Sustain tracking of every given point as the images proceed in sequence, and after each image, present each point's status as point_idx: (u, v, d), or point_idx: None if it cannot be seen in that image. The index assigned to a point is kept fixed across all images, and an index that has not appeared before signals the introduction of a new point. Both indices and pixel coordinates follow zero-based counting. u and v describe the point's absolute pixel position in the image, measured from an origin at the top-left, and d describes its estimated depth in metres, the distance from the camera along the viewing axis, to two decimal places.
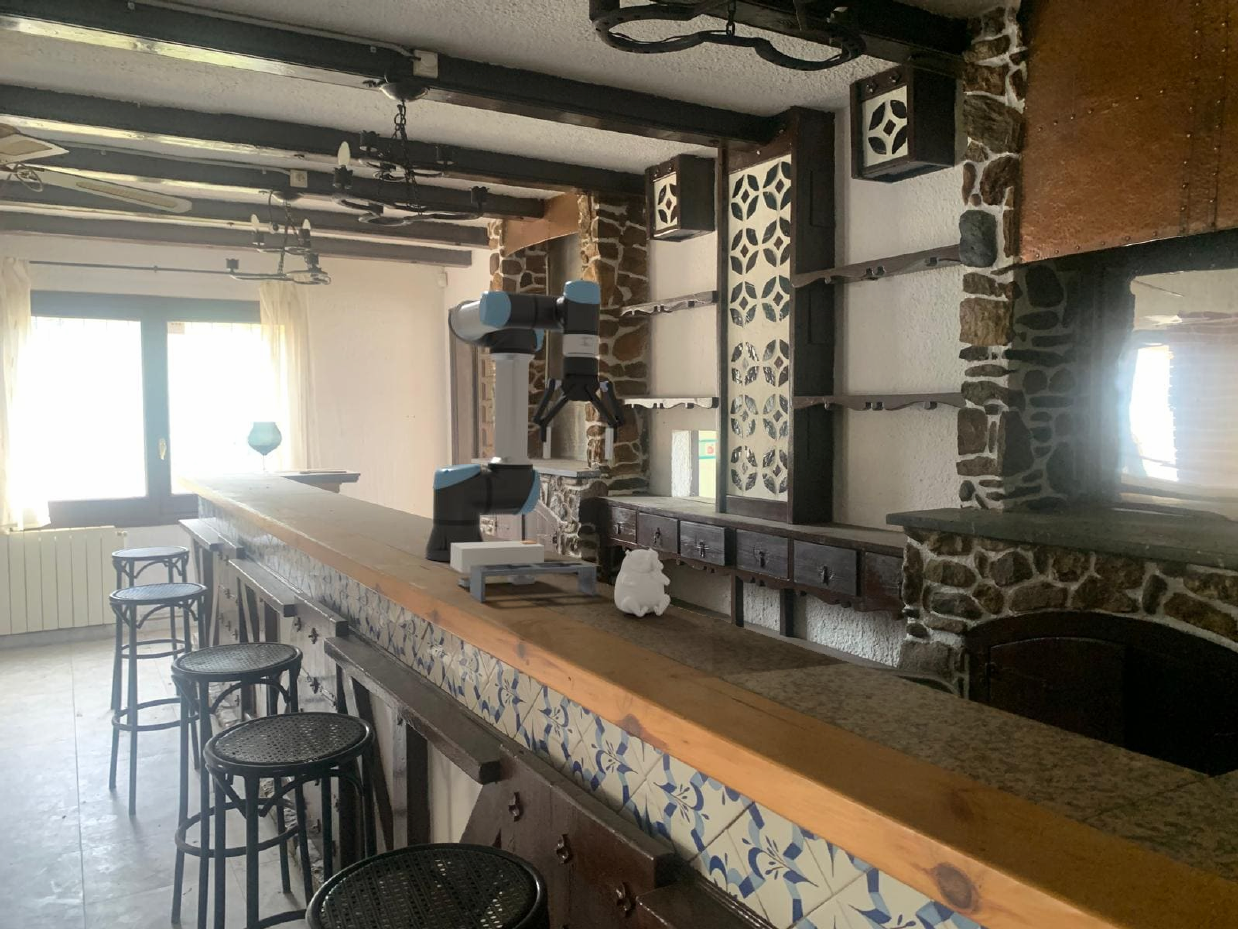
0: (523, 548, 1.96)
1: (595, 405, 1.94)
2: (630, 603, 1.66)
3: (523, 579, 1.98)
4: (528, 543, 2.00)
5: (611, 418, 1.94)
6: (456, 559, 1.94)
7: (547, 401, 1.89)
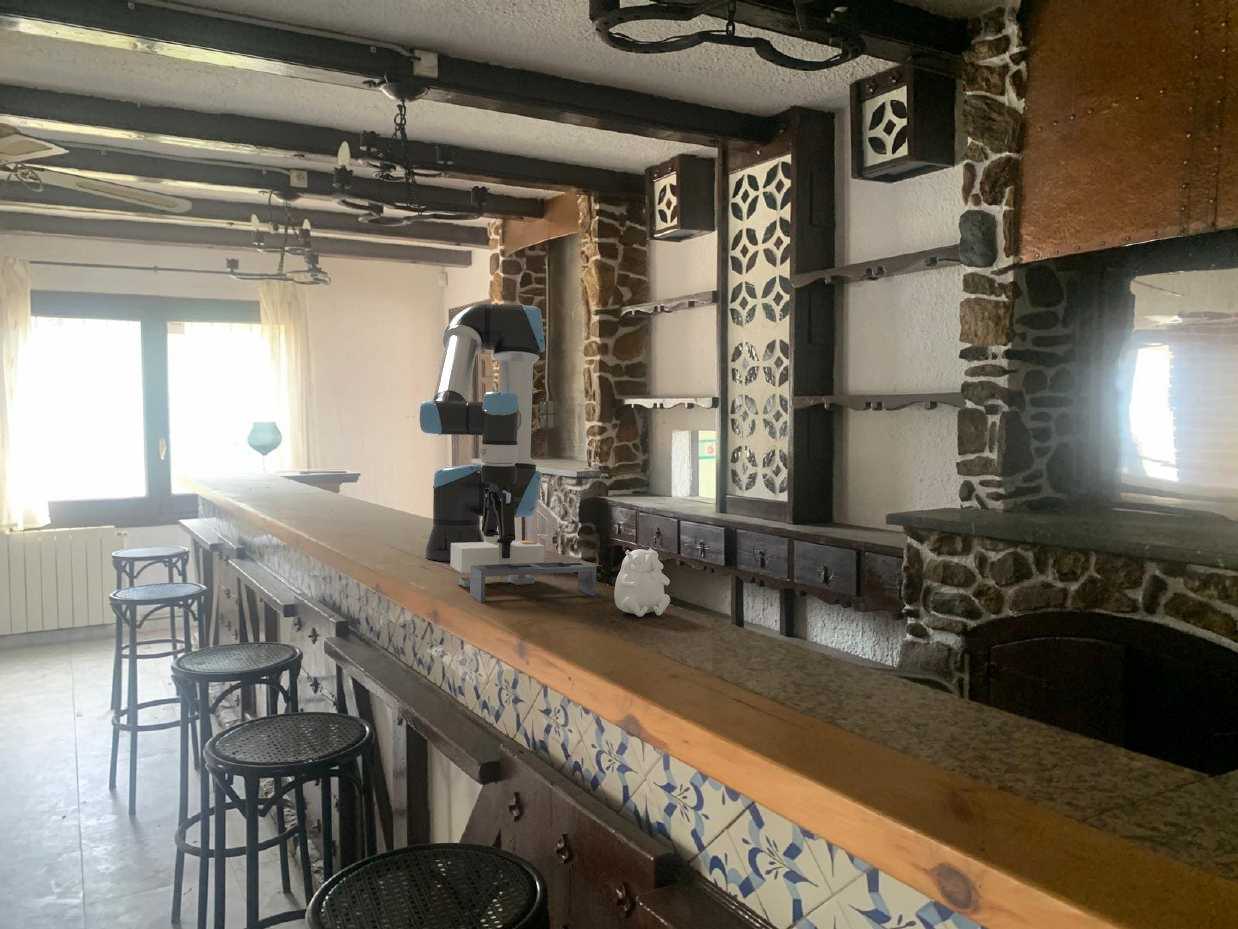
0: (523, 548, 1.96)
1: None
2: (630, 603, 1.66)
3: (523, 579, 1.98)
4: (528, 543, 2.00)
5: (499, 532, 1.93)
6: (456, 559, 1.94)
7: (484, 510, 2.03)
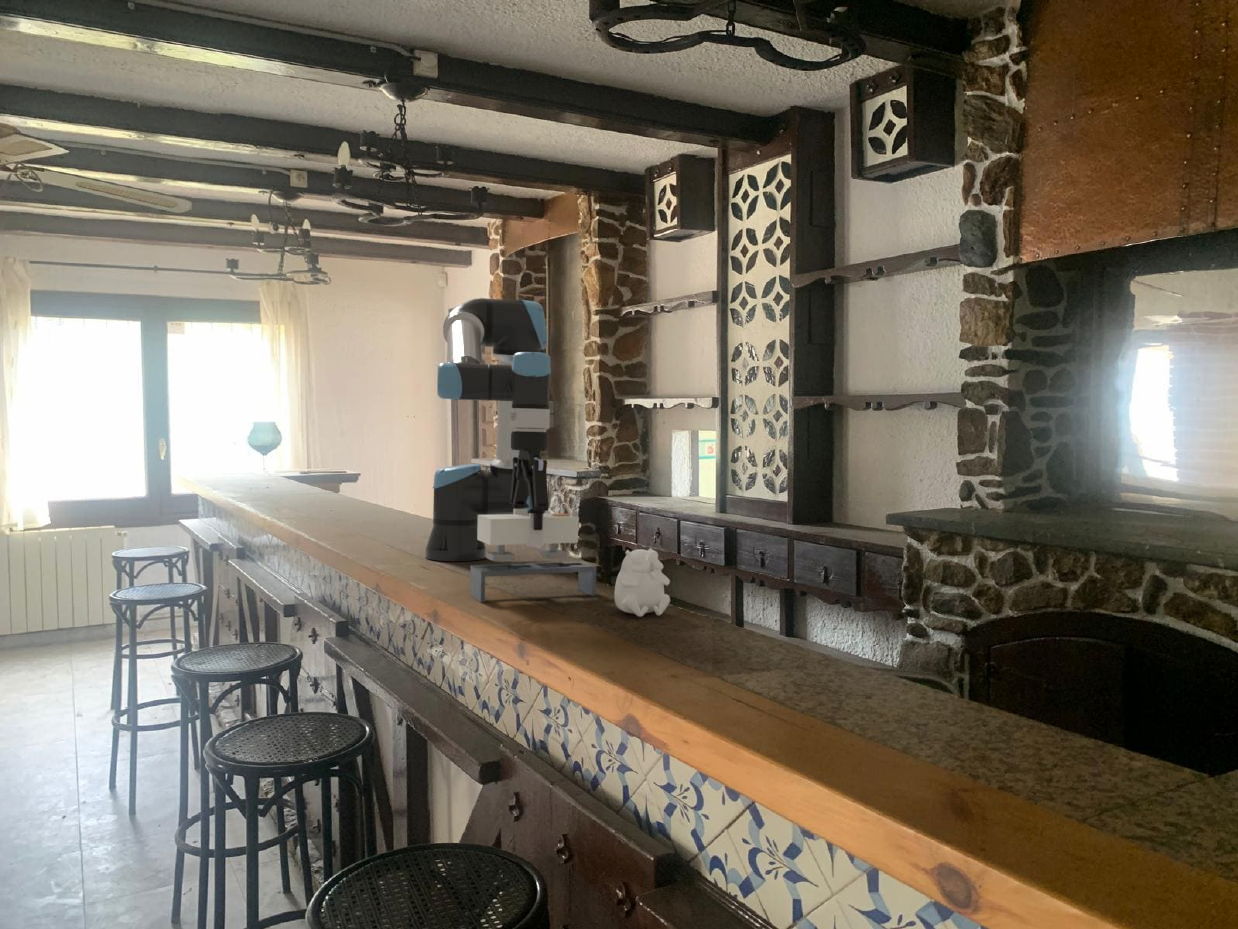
0: (556, 519, 1.82)
1: None
2: (630, 603, 1.66)
3: (555, 553, 1.85)
4: (560, 515, 1.86)
5: (531, 502, 1.79)
6: (484, 531, 1.80)
7: (513, 480, 1.89)
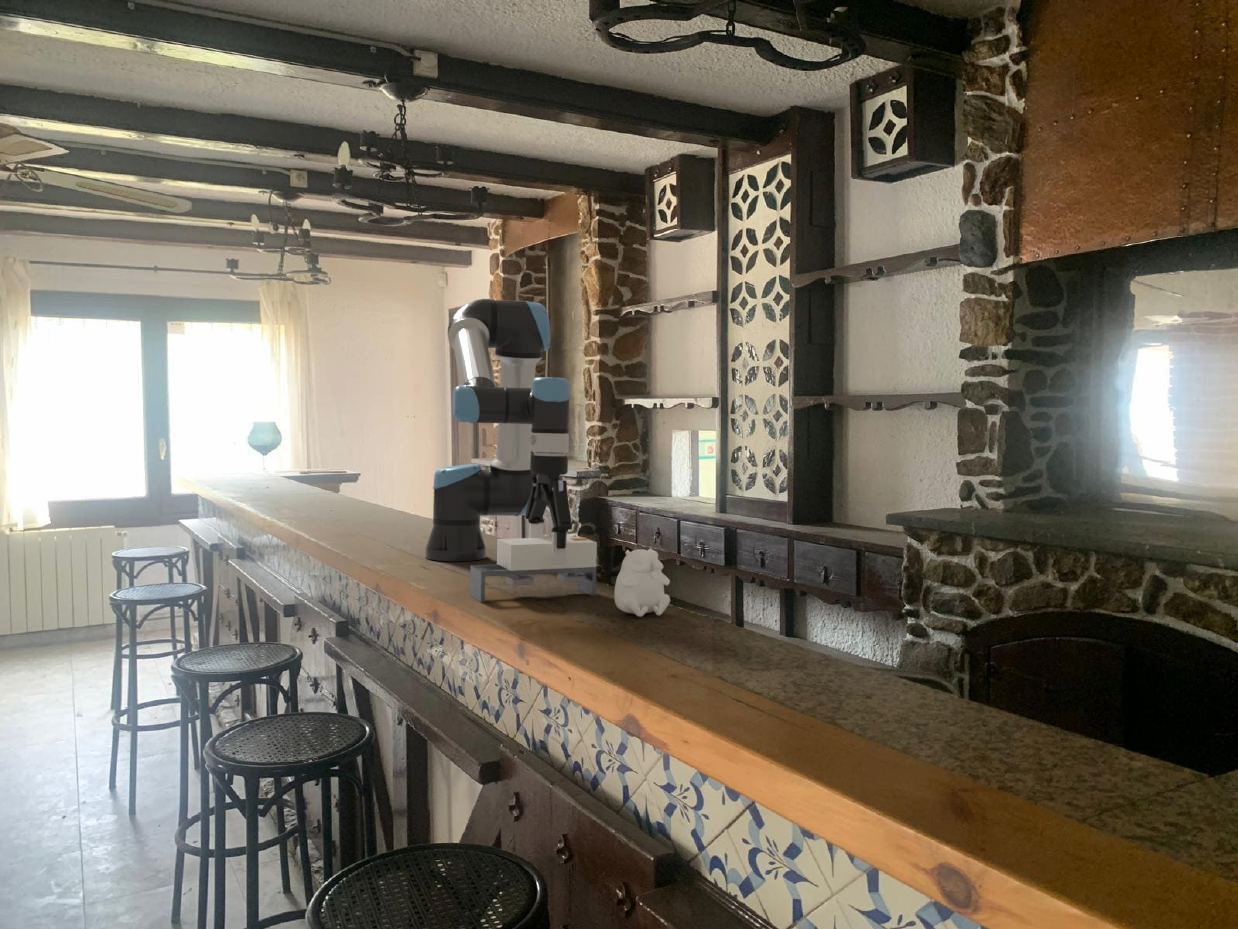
0: (575, 544, 1.84)
1: None
2: (630, 603, 1.66)
3: (573, 577, 1.87)
4: (579, 539, 1.89)
5: (554, 521, 1.80)
6: (504, 556, 1.83)
7: (530, 498, 1.92)
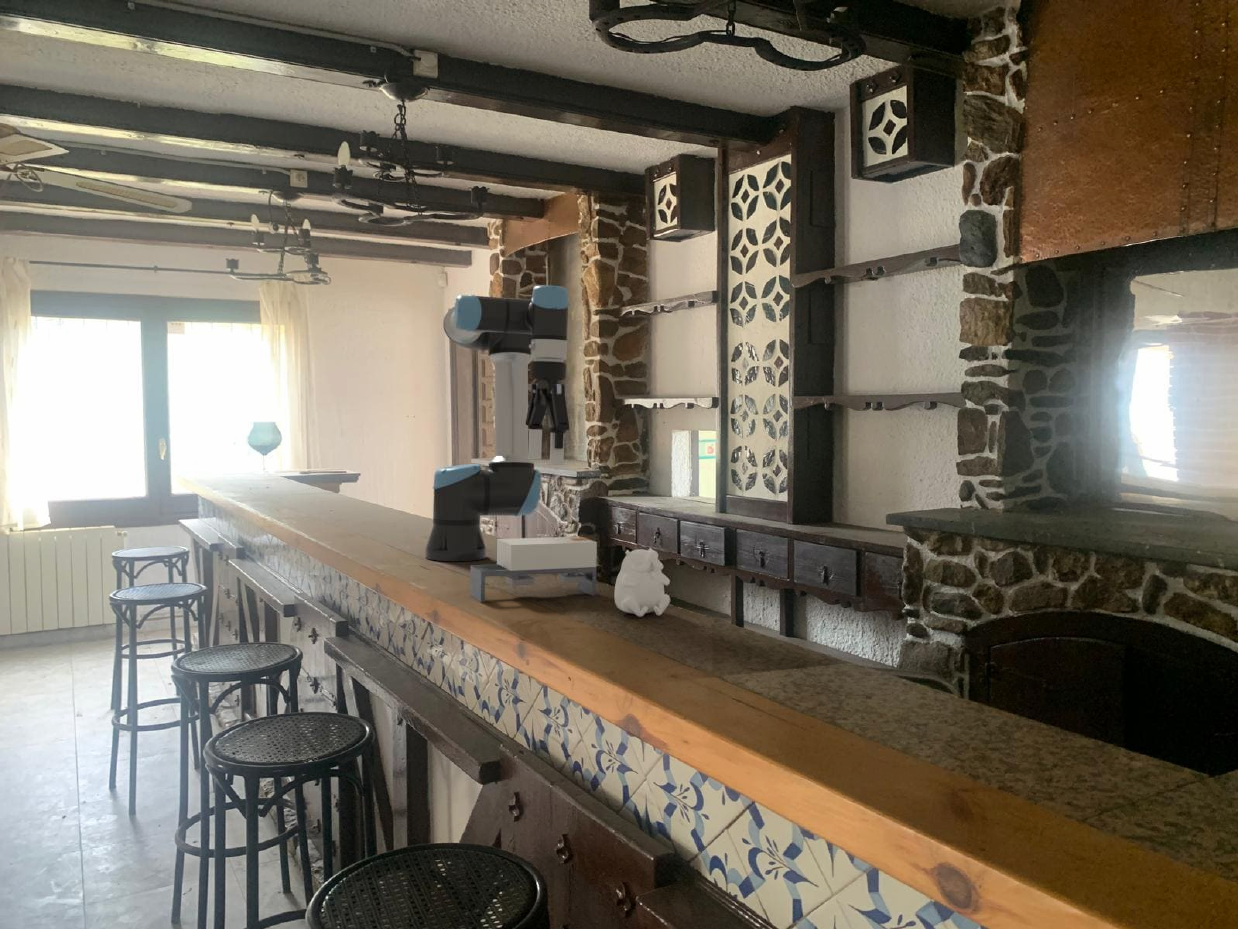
0: (575, 544, 1.84)
1: None
2: (630, 603, 1.66)
3: (573, 577, 1.87)
4: (579, 539, 1.89)
5: (552, 422, 1.88)
6: (504, 556, 1.83)
7: (530, 405, 2.01)
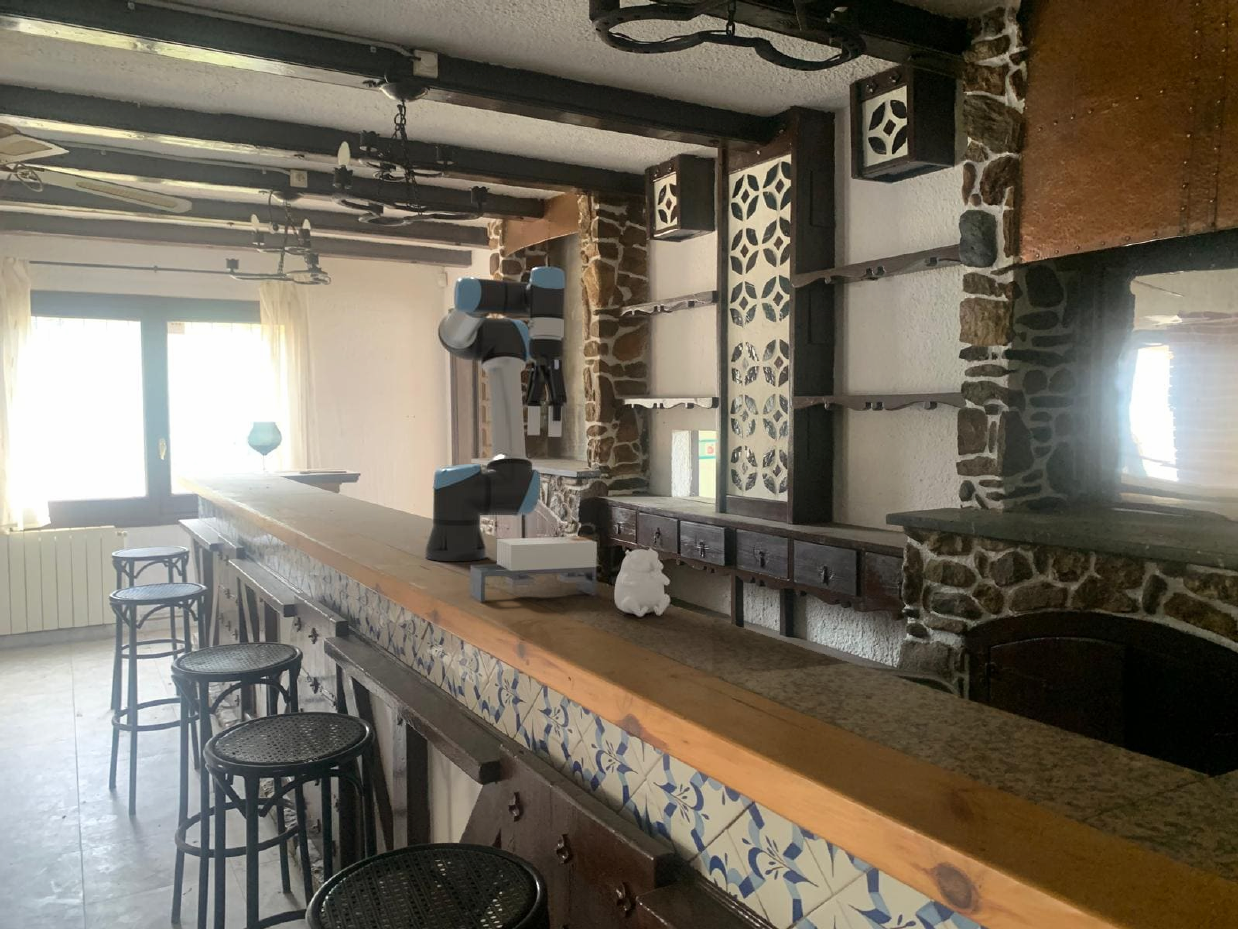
0: (575, 544, 1.84)
1: None
2: (630, 603, 1.66)
3: (573, 577, 1.87)
4: (579, 539, 1.89)
5: (550, 396, 1.97)
6: (504, 556, 1.83)
7: (529, 383, 2.10)
